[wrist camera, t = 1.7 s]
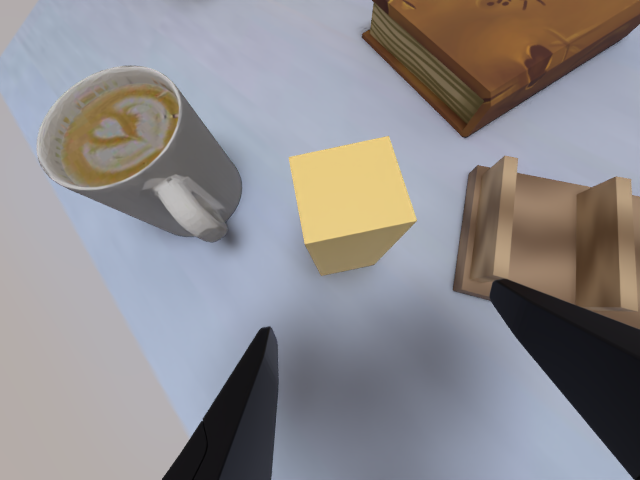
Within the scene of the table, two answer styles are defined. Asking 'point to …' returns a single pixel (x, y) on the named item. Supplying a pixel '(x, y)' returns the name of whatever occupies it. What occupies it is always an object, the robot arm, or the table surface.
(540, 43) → the diary
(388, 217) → the pale yellow cuboid
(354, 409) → the table surface
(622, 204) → the shelf slot board
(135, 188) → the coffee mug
